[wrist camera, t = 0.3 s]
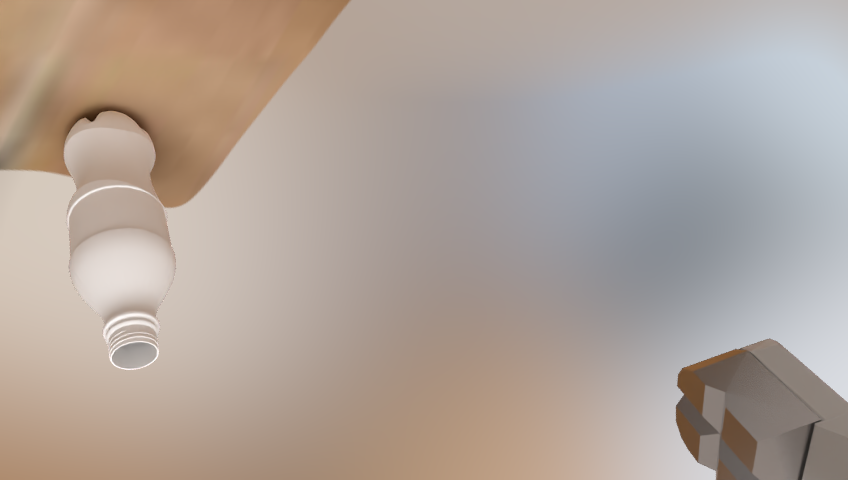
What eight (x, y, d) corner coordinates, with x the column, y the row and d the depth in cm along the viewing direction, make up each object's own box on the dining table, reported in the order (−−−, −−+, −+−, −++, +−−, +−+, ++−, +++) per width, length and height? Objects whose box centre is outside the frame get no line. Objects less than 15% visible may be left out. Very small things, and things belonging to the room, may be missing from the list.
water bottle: (56, 161, 59) (63, 390, 43) (71, 93, 55) (85, 316, 39) (141, 174, 63) (176, 388, 47) (160, 111, 59) (205, 320, 43)
